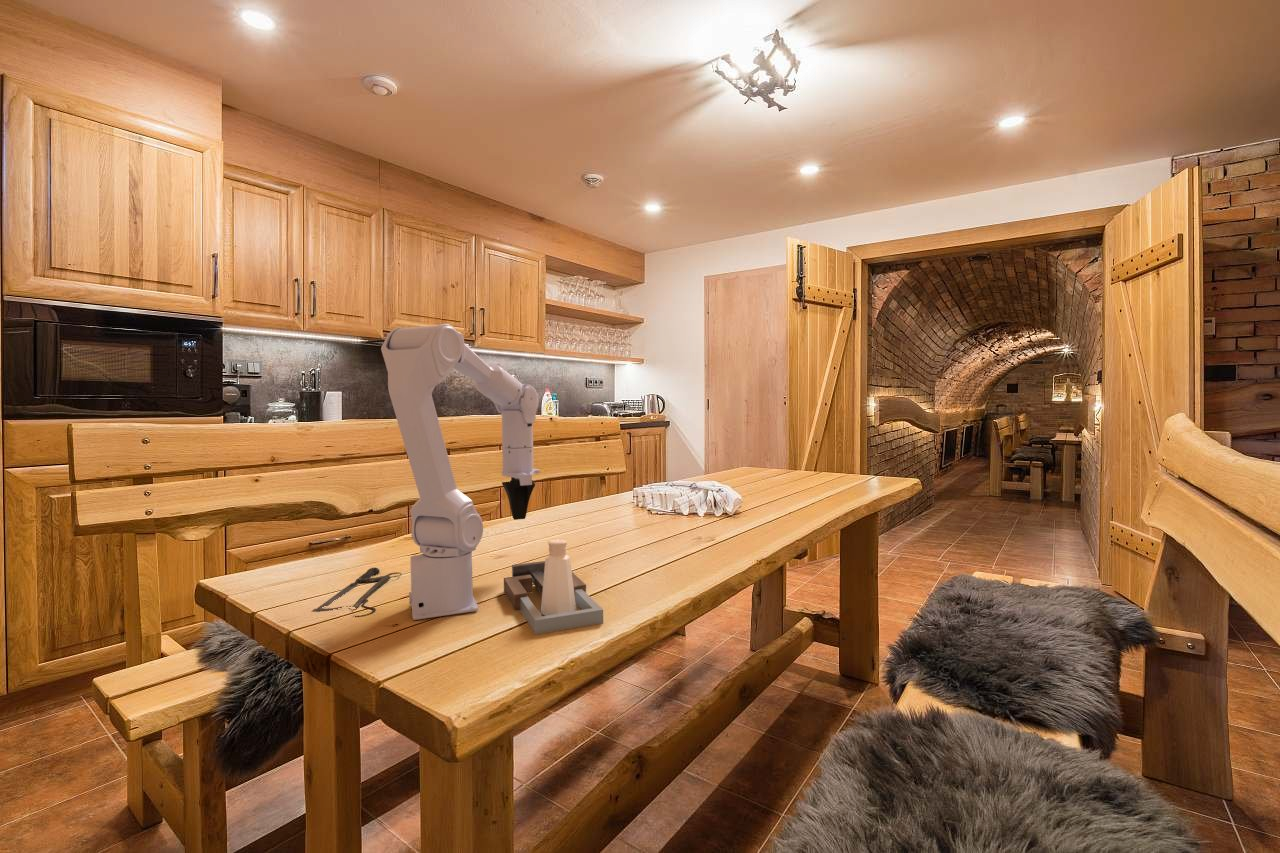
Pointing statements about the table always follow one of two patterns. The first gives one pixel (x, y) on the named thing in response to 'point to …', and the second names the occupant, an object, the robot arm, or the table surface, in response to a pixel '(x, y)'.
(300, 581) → the table surface
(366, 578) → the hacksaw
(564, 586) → the pepper shaker
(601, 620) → the grey u-shaped frame
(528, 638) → the table surface
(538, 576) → the release key
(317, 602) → the table surface
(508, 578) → the holder
